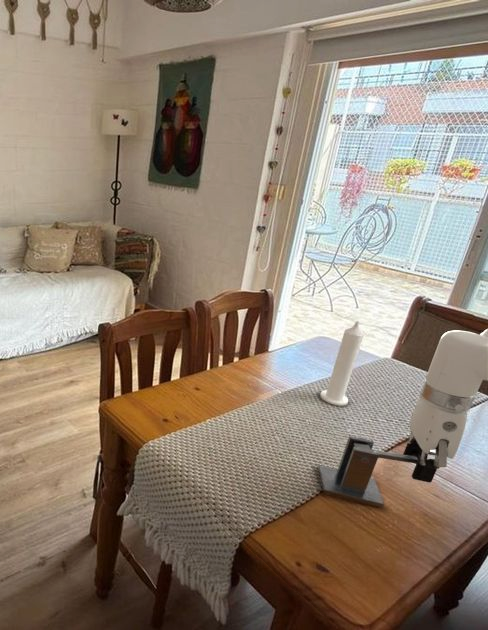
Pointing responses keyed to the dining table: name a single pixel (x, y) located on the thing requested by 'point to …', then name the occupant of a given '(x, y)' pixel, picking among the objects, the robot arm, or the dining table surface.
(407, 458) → the press lever
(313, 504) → the dining table surface
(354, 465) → the press bracket
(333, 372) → the candle
